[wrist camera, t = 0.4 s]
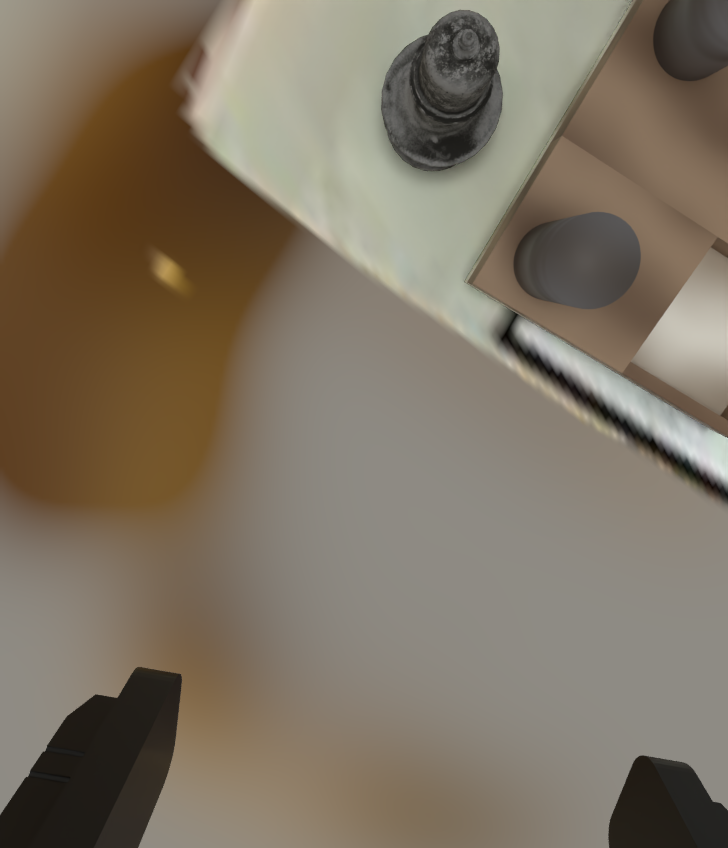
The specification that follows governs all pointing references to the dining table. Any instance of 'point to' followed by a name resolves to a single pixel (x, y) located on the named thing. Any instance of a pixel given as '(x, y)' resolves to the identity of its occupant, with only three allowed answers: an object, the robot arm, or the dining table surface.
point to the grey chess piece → (444, 93)
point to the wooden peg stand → (634, 212)
